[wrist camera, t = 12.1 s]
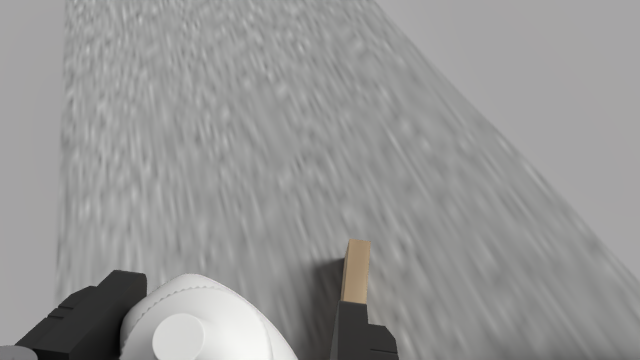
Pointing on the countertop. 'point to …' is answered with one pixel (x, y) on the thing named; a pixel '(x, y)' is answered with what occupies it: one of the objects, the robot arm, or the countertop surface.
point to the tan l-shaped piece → (355, 271)
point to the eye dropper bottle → (199, 325)
